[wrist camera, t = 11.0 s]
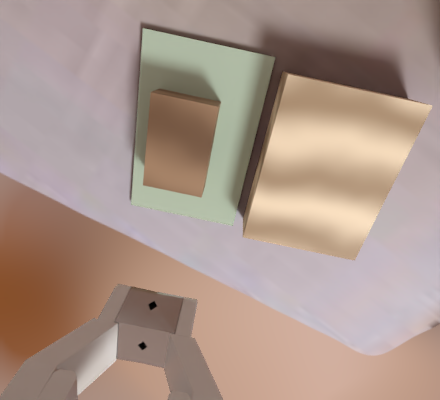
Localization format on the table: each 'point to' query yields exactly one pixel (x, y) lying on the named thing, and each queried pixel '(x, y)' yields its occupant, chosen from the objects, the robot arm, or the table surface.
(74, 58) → the table surface
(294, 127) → the beech block
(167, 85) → the sage green mat
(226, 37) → the table surface
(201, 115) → the walnut tile
